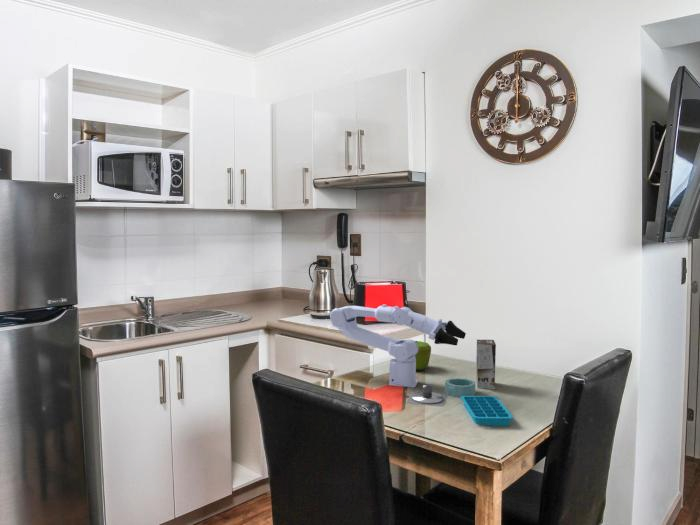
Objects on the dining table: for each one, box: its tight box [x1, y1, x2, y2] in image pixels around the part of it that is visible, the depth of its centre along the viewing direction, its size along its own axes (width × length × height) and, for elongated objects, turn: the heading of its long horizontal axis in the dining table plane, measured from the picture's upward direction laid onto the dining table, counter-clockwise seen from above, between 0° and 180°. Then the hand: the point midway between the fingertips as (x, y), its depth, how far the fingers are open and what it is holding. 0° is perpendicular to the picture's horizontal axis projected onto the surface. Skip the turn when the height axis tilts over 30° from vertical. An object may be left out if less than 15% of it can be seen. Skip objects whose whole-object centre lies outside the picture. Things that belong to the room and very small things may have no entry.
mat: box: [405, 391, 448, 407], centre depth 179 cm, size 12×12×1 cm
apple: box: [414, 340, 432, 371], centre depth 219 cm, size 12×12×11 cm
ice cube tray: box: [460, 395, 514, 427], centre depth 165 cm, size 12×20×3 cm, turn 0°
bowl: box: [444, 377, 476, 398], centre depth 186 cm, size 10×10×4 cm
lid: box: [411, 383, 443, 404], centre depth 179 cm, size 10×10×5 cm
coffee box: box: [475, 339, 497, 390], centre depth 195 cm, size 9×6×16 cm
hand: (461, 339), depth 186 cm, fingers open, 7 cm apart
